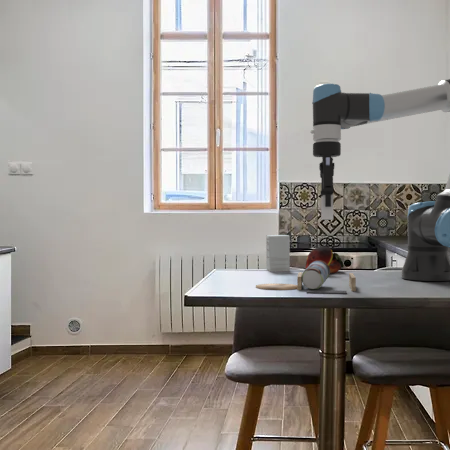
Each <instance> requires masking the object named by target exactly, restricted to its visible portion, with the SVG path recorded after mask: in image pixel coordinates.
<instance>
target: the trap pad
mask: <svg viewBox="0 0 450 450" xmlns="http://www.w3.org/2000/svg"><path fill="white" fill-rule="evenodd" d="M306 294H323V295H325V294H328V295H331V294H332V295H348V292H347V290H328V289H327V290H322V289H320V290H319V289H315V290H312V289H306Z"/></svg>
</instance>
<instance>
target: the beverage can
mask: <svg viewBox="0 0 450 450" xmlns="http://www.w3.org/2000/svg"><path fill="white" fill-rule="evenodd" d="M330 274H331V273H330V268H329V266H328V264H327V263H326V262H324V261H321V260H316V261H314V262H312V263H311V264H310V265H309V266H308V267H307V268H305V270H303V271H302V285H304V287H305V288H307V289H308V290H319V289H320V288H321V287H322V286H323V285H324V284H325V283H326V281H327V280H328V279H329V276H330Z"/></svg>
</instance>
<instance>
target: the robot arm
mask: <svg viewBox="0 0 450 450" xmlns="http://www.w3.org/2000/svg"><path fill="white" fill-rule="evenodd" d="M341 89H342V88H341V86H340V85H339V84H335V83H322V84H318V85H316V86H314V88H313V91H312V120H313V121H312V122H313V123H312V126H313V127H312V130H310V133H311V135H312V140H313V144H312V156H313V157H315V158H321V162H319V164H318V165H319V167H318V168H319V171H320V172H319V175H320V176H319V177H320V178H321V180H320V181H321V186H320V187H321V190H320V195H321V197H320V199H321V200H320V216H321V218H320V219H321V220H323V221H324V220H325V221H329V220H331V221H332V220H334V194H333V193H334V190H335V189H334V176H335V175H334V174H335V162H333V161H334V158H337V157H340V156H341V151H342V149H341V147H342V146H341V145H342V144H341V142H340V141H341V140H342V130H348V129H350V128H353V127H359V126H362V125H367V124H372V123H373V124H374V123H378V122H384V121H388V120H394V119H400V118H404V117H405V118H406V117H411V116H416V115H420V114H421V115H422V114H426V113H430V112H436V111H442V112H444V113H449V112H450V78H449V79H443V80H441V81H439V82H438V84H436V85H432V86H431V85H430V86H427V87H426V86H425V87H420V88H414V89H409V90H405V91H404V90H403V91H398V92H392V93H388V94H380V93H371V92H368V93H366V92H365V93H361V92H360V93H359V92H358V93H356V92H342V90H341ZM407 210H408V211H407V255H406V257H405V260H404V263H403V266H402V269H401V279H403V280H410V281H422V282H447V281H448V282H449V281H450V257H449V256H450V255H449V248H450V173H449V174H448V177H447V180H446V185H445V188H444V190H443V191H442V192H440V193H438V194H437V195H436V199H435V200H434V201H420V202H415V203H412V204H410V205H409V207H408V209H407Z"/></svg>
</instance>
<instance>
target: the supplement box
mask: <svg viewBox="0 0 450 450" xmlns="http://www.w3.org/2000/svg"><path fill="white" fill-rule="evenodd" d="M265 237H266V240H265V241H266V242H265V244H266V247H265V248H266V249H265V250H266V252H265V253H266V260H265V261H266V263H265V264H266V267H265V268H266V269H265V270H266V271H268V272H271V273H272V272H273V273H275V272H276V273H277V272H280V273H281V272H283V273H284V272H291V270H290V269H291V266H290V265H291V263H290V261H291V260H290V259H291V258H290V257H291V256H290V255H291V254H290V253H291V248H290V247H291V246H290V245H291V242H290V241H291V238H290V235H288V234H267V235H266V236H265Z"/></svg>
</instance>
